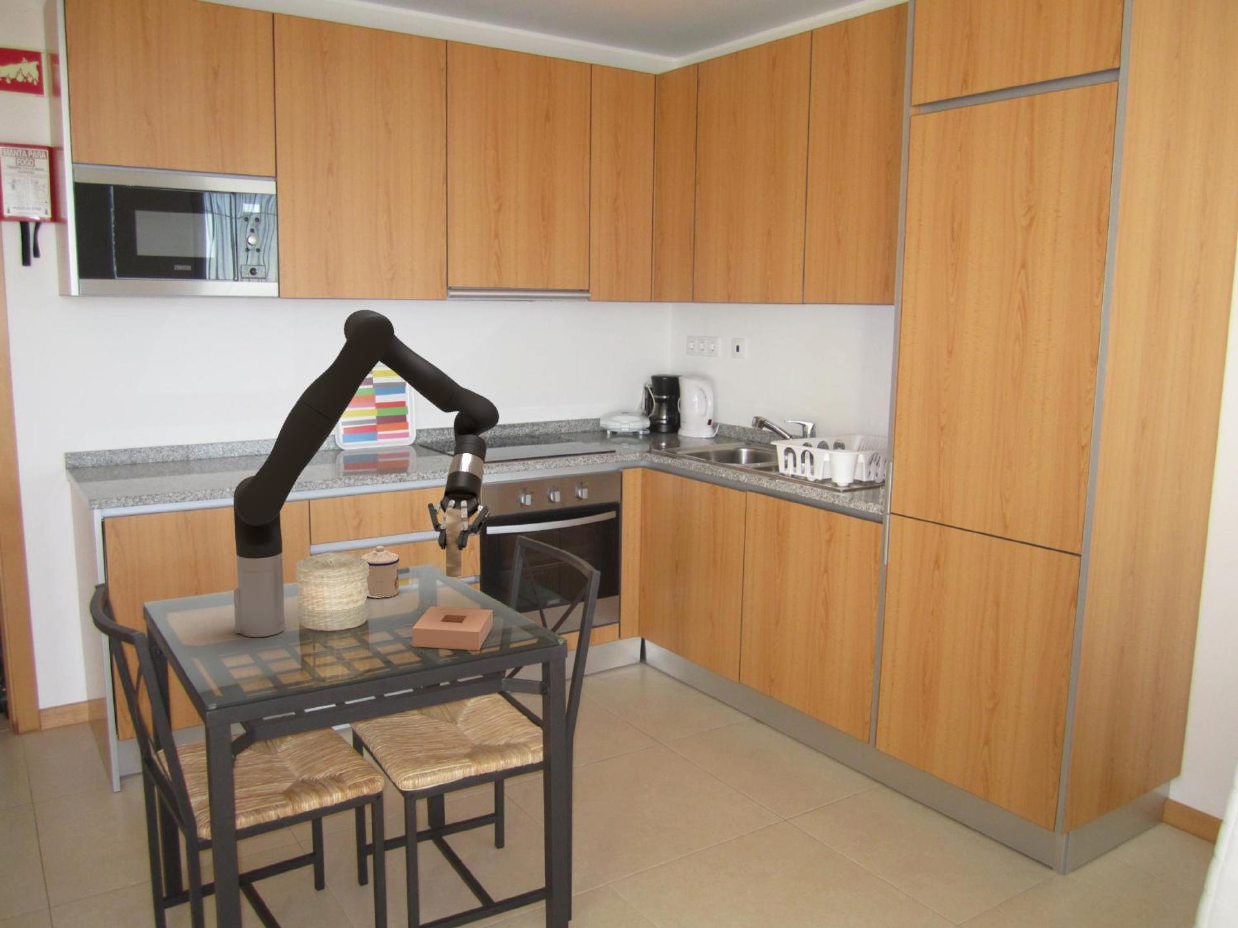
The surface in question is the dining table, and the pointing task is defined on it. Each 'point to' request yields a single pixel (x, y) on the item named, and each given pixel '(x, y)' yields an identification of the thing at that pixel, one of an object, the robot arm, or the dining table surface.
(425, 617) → the socket block
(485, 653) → the dining table surface
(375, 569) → the tan lidded jar
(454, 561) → the peg
